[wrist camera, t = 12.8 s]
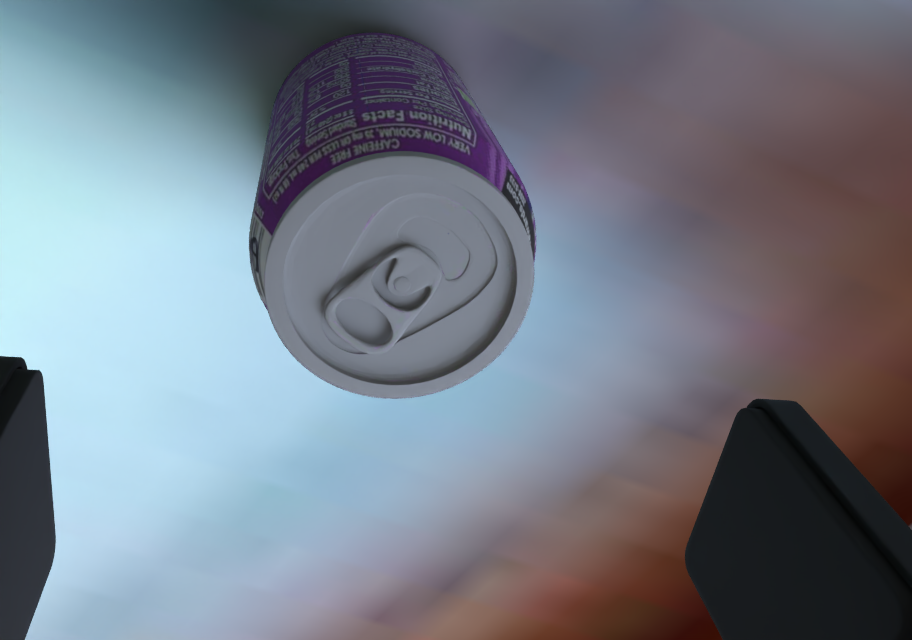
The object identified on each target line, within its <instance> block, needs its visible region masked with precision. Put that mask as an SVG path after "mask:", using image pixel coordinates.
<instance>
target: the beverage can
mask: <svg viewBox="0 0 912 640" xmlns="http://www.w3.org/2000/svg"><path fill="white" fill-rule="evenodd" d="M535 252H536V227H535V220H534V215H533V210H532V207H531V203H530V200H529V197H528V194H527V192H526V190H525V187H524V185H523V183H522V181H521V179H520V177H519V175H518V174H517V172H516V170H515V169H514V167H513V165H512V164H511V162H510V160H509V159H508V157H507V155H506V154H505V152H504V150H503V149H502V147H501V145H500V144H499V142H498V140H497V139H496V137H495V135H494V134H493V132H492V130H491V129H490V127H489V125H488V124H487V122H486V120H485V119H484V117H483V115H482V114H481V112H480V110H479V109H478V107H477V105H476V104H475V102H474V100H473V99H472V97H471V95H470V94H469V92H468V90H467V89H466V87H465V85H464V84H463V82H462V81H461V79H460V78H459V76H458V75H457V74H456V72H455V71H454V70H453V69H452V68H451V66H450V65H449V64H448V63H447V62H446V61H445V60H444V59H442V58H441V57H440V56H439V55H437V54H436V53H435V52H433V51H432V50H430V49H429V48H427V47H425V46H424V45H422V44H420V43H418V42H415V41H413V40H410V39H408V38H405V37H401V36H397V35H392V34H386V33H360V34H353V35H349V36H345V37H341V38H338V39H336V40H333V41H330V42H328V43H326V44H324V45H322V46H321V47H319V48H317V49H316V50H314V51H313V52H311V53H310V54H309V55H307V56H306V57H305V58H304V59H303V60H302V61H301V62H300V63H299V64H298V65H297V66H296V67H295V68H294V69H293V70H292V71H291V73H290V74H289V75H288V77H287V78H286V80H285V81H284V83H283V85H282V86H281V88H280V90H279V93H278V95H277V97H276V100H275V103H274V106H273V110H272V114H271V119H270V125H269V130H268V135H267V140H266V146H265V151H264V156H263V161H262V167H261V172H260V177H259V182H258V188H257V193H256V198H255V203H254V209H253V214H252V219H251V225H250V233H249V253H250V263H251V270H252V274H253V278H254V282H255V285H256V288H257V290H258V293H259V295H260V297H261V300H262V301H263V303H264V305H265V307H266V309H267V310H268V313H269V316H270V319H271V321H272V324H273V326H274V328H275V330H276V332H277V334H278V336H279V338H280V339H281V341H282V342H283V344H284V345H285V347H286V348H287V349H288V350H289V352H290V353H291V354H292V355H293V356H294V357H295V358H296V360H297V361H299V362H300V363H301V364H302V365H303V366H304V367H305V368H306V369H308V370H309V371H310V372H312V373H313V374H314V375H316V376H317V377H319V378H321V379H322V380H324V381H326V382H328V383H330V384H332V385H334V386H336V387H338V388H341V389H343V390H346V391H349V392H352V393H356V394H360V395H364V396H370V397H376V398H391V399H397V398H412V397H419V396H424V395H429V394H433V393H436V392H440V391H443V390H446V389H448V388H451V387H453V386H456V385H458V384H460V383H462V382H464V381H466V380H468V379H469V378H471V377H473V376H474V375H476V374H477V373H479V372H480V371H482V370H483V369H484V368H486V367H487V366H488V365H489V364H491V363H492V362H493V361H494V360H495V359H496V358H497V357H498V356H499V355H500V354H501V353H502V352H503V351H504V350H505V349H506V347H507V346H508V345H509V343H510V342H511V341H512V339H513V338H514V336H515V335H516V334H517V332H518V330H519V328H520V327H521V325H522V323H523V320H524V318H525V316H526V313H527V311H528V308H529V305H530V301H531V297H532V292H533V285H534V260H535Z"/></svg>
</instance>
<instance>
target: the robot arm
mask: <svg viewBox="0 0 912 640" xmlns="http://www.w3.org/2000/svg"><path fill="white" fill-rule="evenodd" d="M55 543H56V536H55V523H54V510H53V497H52V485H51V472H50V459H49V447H48V434H47V421H46V409H45V396H44V383H43V376H42V373H41V372H40V371H39V370H27V366H26V363H25V360H24V359H23V358H21V357H4V356H0V640H25V637H26V634H27V632H28V629H29V626H30V624H31V621H32V618H33V616H34V613H35V610H36V607H37V605H38V602H39V599H40V597H41V594H42V591H43V588H44V586H45V583H46V580H47V578H48V575H49V572H50V570H51V566H52V563H53V558H54V553H55ZM685 563H686V568H687V571H688V573H689V576H690V577H691V579H692V581H693V583H694V585H695V587H696V589H697V591H698V593H699V595H700V597H701V598H702V600H703V602H704V604H705V606H706V608H707V610H708V612H709V614H710V616H711V618H712V619H713V621H714V623H715V625H716V627H717V629H718V631H719V633H720V635H721V637H722V639H723V640H912V530H911V529H910V528H909V527H908V525H907V524H906V523H905V522H904V521H903V520H902V519H901V518H900V516H899V515H898V514H897V513H896V512H895V511H894V510H893V509H892V507H891V506H890V505H889V504H888V503H887V502H886V501H885V500H884V499H883V497H882V496H881V495H880V494H879V493H878V492H877V491H876V490H875V488H874V487H873V486H872V485H871V484H870V483H869V482H868V481H867V479H866V478H865V477H864V476H863V475H862V474H861V473H860V472H859V470H858V469H857V468H856V467H855V466H854V465H853V464H852V463H851V461H850V460H849V459H848V458H847V457H846V456H845V455H844V454H843V452H842V451H841V450H840V449H839V448H838V447H837V446H836V445H835V443H834V442H833V441H832V440H831V439H830V438H829V437H828V436H827V434H826V433H825V432H824V431H823V430H822V429H821V428H820V427H819V425H818V424H817V423H816V422H815V421H814V420H813V419H812V418H811V417H810V415H809V414H808V413H807V412H806V411H805V410H804V409H803V408H802V406H801V405H799V404H798V403H797V402H794V401H787V400H769V399H756V400H753V401H752V402H751V403H750V404H749V405H748V406H747V408H743V409H741V410H740V411H739V412H738V413H737V415H736V417H735V419H734V422H733V425H732V427H731V430H730V433H729V435H728V438H727V440H726V443H725V446H724V448H723V451H722V454H721V456H720V459H719V462H718V464H717V467H716V470H715V472H714V475H713V477H712V480H711V483H710V485H709V488H708V491H707V493H706V496H705V499H704V501H703V504H702V507H701V509H700V512H699V514H698V517H697V520H696V522H695V525H694V528H693V530H692V533H691V536H690V538H689V541H688V544H687V547H686V551H685Z"/></svg>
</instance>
